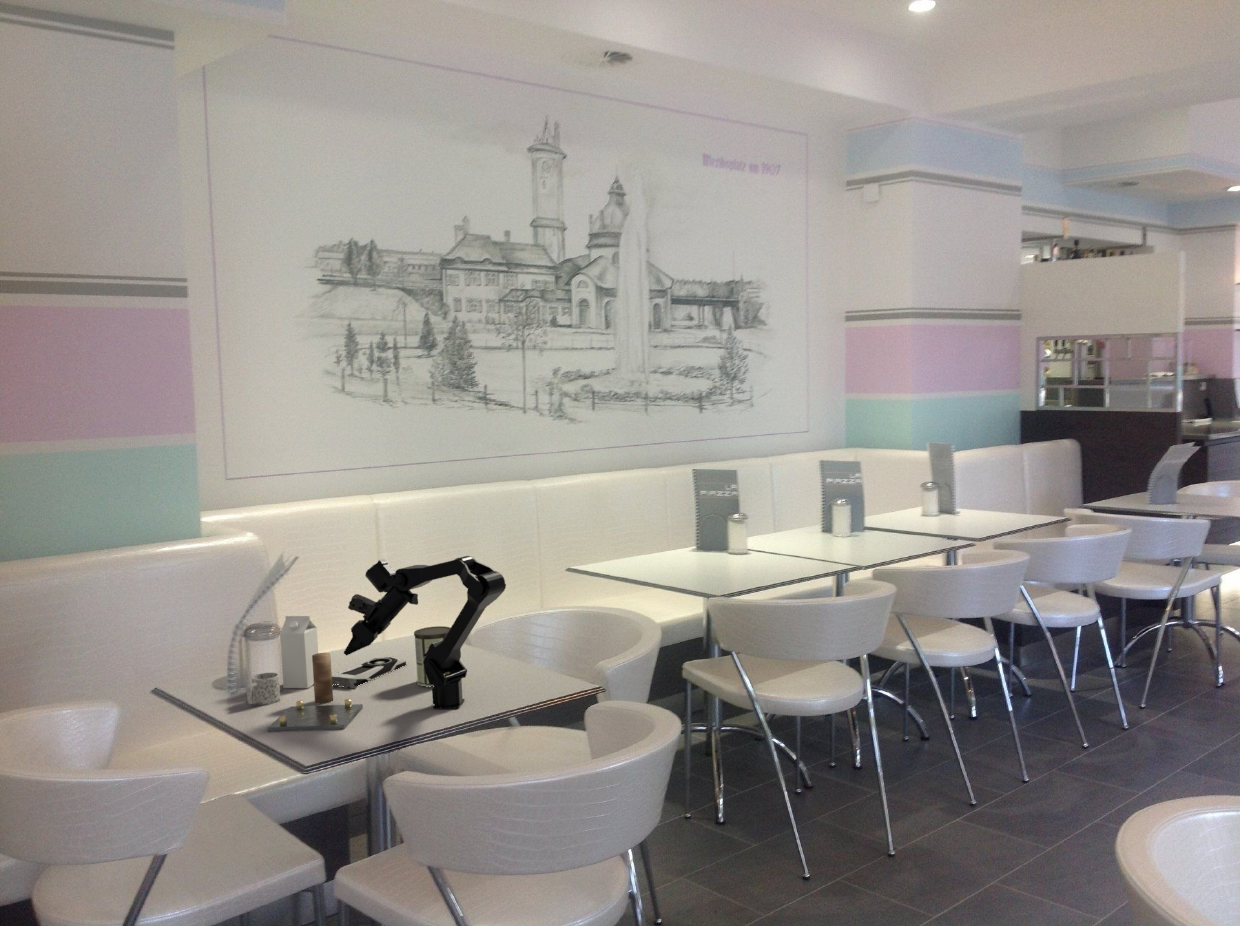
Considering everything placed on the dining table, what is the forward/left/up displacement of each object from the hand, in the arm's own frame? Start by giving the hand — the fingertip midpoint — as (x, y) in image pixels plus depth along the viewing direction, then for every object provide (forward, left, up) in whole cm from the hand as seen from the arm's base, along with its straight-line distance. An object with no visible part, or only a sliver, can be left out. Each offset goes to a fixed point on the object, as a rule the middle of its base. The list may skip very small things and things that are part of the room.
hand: (349, 649), depth 270 cm
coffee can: (-18, -15, -13) cm, 27 cm away
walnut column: (+7, +1, -13) cm, 15 cm away
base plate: (+3, +16, -13) cm, 21 cm away
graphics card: (+4, -23, -14) cm, 27 cm away
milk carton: (+19, -14, -13) cm, 28 cm away
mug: (+23, +2, -13) cm, 27 cm away
